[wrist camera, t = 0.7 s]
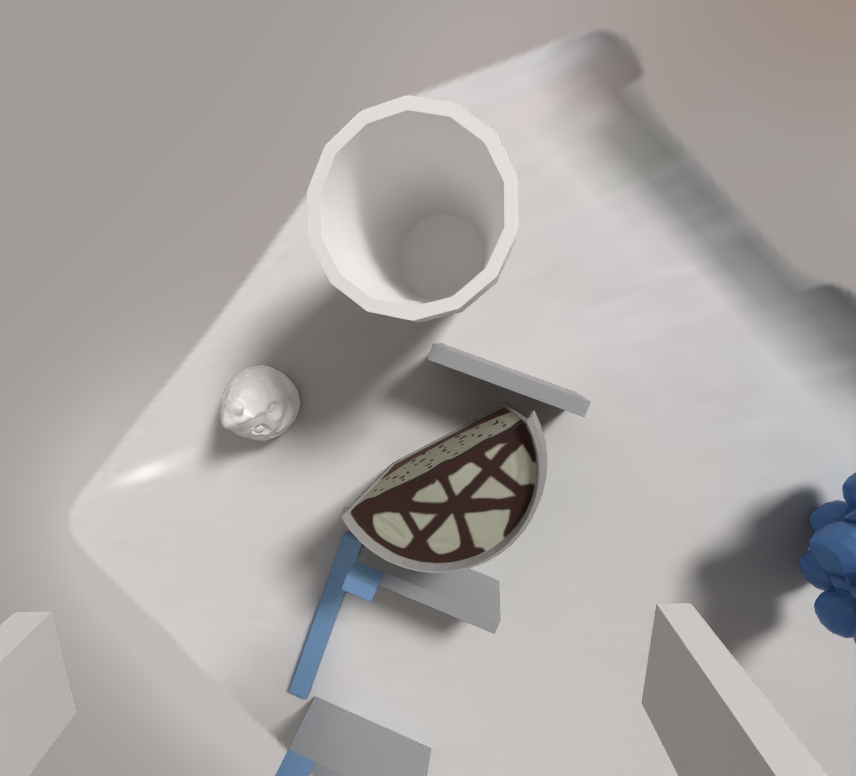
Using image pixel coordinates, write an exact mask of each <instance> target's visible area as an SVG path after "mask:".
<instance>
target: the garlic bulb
mask: <svg viewBox="0 0 856 776" xmlns="http://www.w3.org/2000/svg"><path fill="white" fill-rule="evenodd" d="M299 408H300V398H299V394H298V391H297V389H296V387H295V385H294V384H293V383H292V382H291V381H290V380H289V378H288V377H287V376H286V375H285V374H283V373H282V372H280V371H278V370H276V369H274V368H272V367H270V366H265V365H256V366H251V367H248V368H245V369H243V370H241V371H239V372H238V373H237V374H236V375H234V377H233V378H232V379H231V380H230V382H229V384H228V385H227V387H226V389H225V391H224V394H223V396H222V399H221V408H220V420H221V424H222V426H223V427H224V428H226V429H229V430H231V431H233V432H234V433H235V434H237V435H239V436H242V437H247V438H250V439H254V440H262V441H267V440H270V439H272V438H275V437H278V436H280V435H282V434H283V433H284V432H286V431H287V429H288V428H289V427H290V426H291V425H292V423H293V422H294V421H295V419H296V417H297V415H298V412H299Z"/></svg>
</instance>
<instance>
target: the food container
mask: <svg viewBox="0 0 856 776" xmlns="http://www.w3.org/2000/svg"><path fill="white" fill-rule="evenodd" d="M546 472H547V452H546V442H545V439H544V435H543V431H542V427H541V424H540V422H539V420H538V417H537V415H536V413H535V411H532V412H531V414H530V417H529V418H526V417H524V416H523V415H521V414H520V413H518V412H517V411H516V410H514V409H513V408H511V407H510V406H508V405H507V404H504V405H502V406H500V407H498V408H496V409H495V410H493V411H491V412H489V413H487V414H485V415H483V416H481V417H479V418H477V419H475V420H473V421H472V422H470V423H468V424H466V425H464V426H462V427H460V428H458V429H456V430H454V431H452V432H450V433H449V434H447V435H445V436H443V437H441V438H439V439H437V440H435V441H433V442H431V443H429V444H427V445H426V446H424V447H422V448H420V449H418V450H416V451H414V452H412V453H410V454H408V455H406V456H405V457H403V458H401V459H399V460H397V461H395V462H393V463H392V464H391V465H390V466H389V467H388V468H387V469H386V470H385V471H384V472H383V474H382V475H381V476H380V477H379V478H378V479H377V480H376V481H375V482H374V483H373V484H372V485H371V486H370V487H369V488H368V489H367V490H366V491H365V492H364V493H363V494H362V495H361V496H360V497H359V498H358V499H357V500H356V501H355V502H354V503H353V504H352V505H351V506H350V507H349V508H348V509H347V507H345V508H344V509H343V511H342V513H341V514H340V515H341V518H342V520H343V521H344V523H345V524H346V526H347V527H348V529H349V530H350V531H351V532H352V533H353V534H354V536H355V537H356V538H357V539H358V540H359V541H360V542H361V543H362V544H363V545H365V546H366V547H367V548H368V549H369V550H371V551H372V552H373V553H375V554H376V555H378V556H380V557H381V558H383V559H385V560H386V561H388V562H391V563H393V564H395V565H398V566H400V567H403V568H407V569H410V570H414V571H419V572H428V573H447V572H455V571H460V570H465V569H468V568H471V567H474V566H477V565H479V564H482V563H485V562H487V561H488V560H490V559H492V558H494V557H495V556H497V555H499V554H500V553H502V552H503V551H504V550H505V549H507V548H508V547H509V546H510V545H512V544H513V543H514V542H515V540H516V539H517V538H518V537H519V536H520V535H521V534H522V533H523V532H524V530H525V529H526V527H527V525H528V524H529V522H530V521H531V519H532V518H533V515H534V513H535V511H536V508H537V506H538V504H539V501H540V499H541V496H542V493H543V489H544V484H545V480H546Z"/></svg>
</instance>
